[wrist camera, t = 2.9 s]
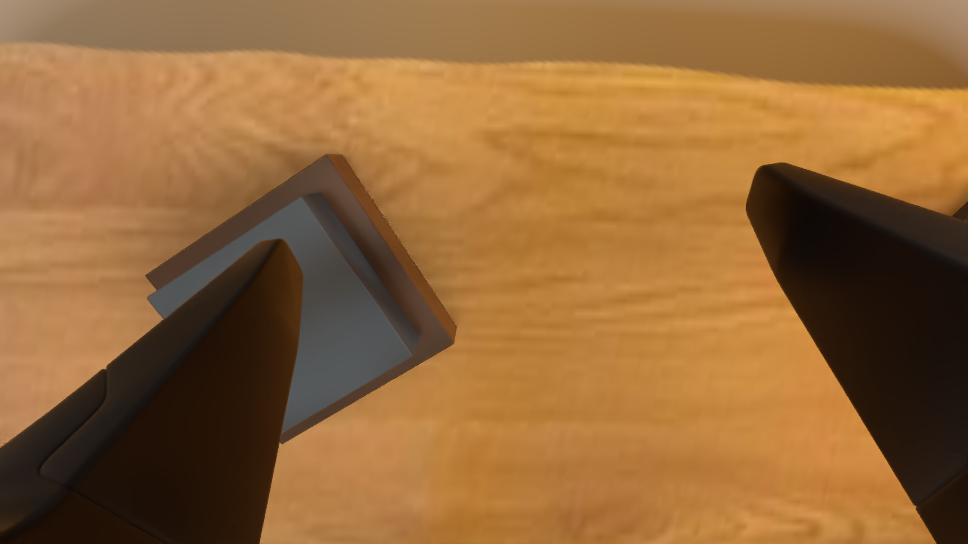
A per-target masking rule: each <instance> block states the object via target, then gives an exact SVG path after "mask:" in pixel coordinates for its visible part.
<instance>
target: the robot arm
mask: <svg viewBox="0 0 968 544" xmlns="http://www.w3.org/2000/svg"><path fill="white" fill-rule="evenodd" d="M746 212H747V216H748V218H749V220H750V223H751V225H752V227H753V229H754V231H755V234H756V236H757V238H758V240H759V243H760V245H761V247H762V249H763V251H764V254H765V256H766V258H767V260H768V263H769V265H770V267H771V269H772V271H773V273H774V275H775V277H776V279H777V281H778V283H779V284H780V286H781V288H782V290H783V291H784V293H785V295H786V296H787V298H788V299H789V301H790V303H791V304H792V306H793V308H794V309H795V311H796V313H797V314H798V316H799V318H800V319H801V321H802V322H803V324H804V326H805V327H806V329H807V331H808V332H809V334H810V336H811V337H812V339H813V341H814V342H815V344H816V345H817V347H818V349H819V350H820V352H821V354H822V355H823V357H824V359H825V360H826V362H827V364H828V365H829V367H830V368H831V370H832V372H833V373H834V375H835V377H836V378H837V380H838V382H839V383H840V385H841V386H842V388H843V390H844V391H845V393H846V395H847V396H848V398H849V400H850V401H851V403H852V405H853V406H854V408H855V409H856V411H857V413H858V414H859V416H860V418H861V419H862V421H863V423H864V424H865V426H866V428H867V429H868V431H869V432H870V434H871V436H872V437H873V439H874V441H875V442H876V444H877V446H878V447H879V449H880V451H881V452H882V454H883V455H884V457H885V459H886V460H887V462H888V464H889V465H890V467H891V469H892V470H893V472H894V474H895V475H896V477H897V478H898V480H899V482H900V483H901V485H902V487H903V488H904V490H905V492H906V493H907V495H908V496H909V498H910V500H911V501H912V503H913V504H914V505H915V506H917V507H916V510H917V512H918V514H919V515H920V517H921V519H922V520H923V522H924V523H925V525H926V527H927V528H928V530H929V532H930V533H931V535H932V537H933V538H934V540H935V541H936V543H937V544H968V222H966V221H963V220H959V219H956V218H953V217H950V216H947V215H944V214H941V213H938V212H935V211H932V210H929V209H926V208H923V207H920V206H917V205H913V204H910V203H907V202H904V201H901V200H898V199H895V198H892V197H889V196H886V195H883V194H880V193H877V192H874V191H871V190H867V189H864V188H861V187H858V186H855V185H852V184H849V183H846V182H843V181H840V180H837V179H834V178H831V177H828V176H825V175H821V174H818V173H815V172H812V171H809V170H806V169H803V168H800V167H797V166H794V165H791V164H788V163H774V164H768V165H762V166H761V167H759V168H758V169H757V171H756V173H755V175H754V179H753V182H752V185H751V188H750V192H749V195H748V198H747V202H746ZM302 294H303V273H302V270H301V267H300V266H299V264H298V262H297V260H296V258H295V256H294V254H293V252H292V251H291V249H290V247H289V245H288V243H287V242H286V241H285V240H284V239H282V238H275V239H268V240H262V241H260V242H259V243H257V244H256V245H255V246H254V247H252V248H251V249H250V250H249V251H247V252H246V253H245V254H244V255H243V256H241V257H240V258H239V259H238V260H236V261H235V262H234V263H233V264H231V265H230V266H229V267H228V268H226V269H225V270H224V271H223V272H222V273H220V274H219V275H218V276H217V277H215V278H214V279H213V280H212V281H210V282H209V283H208V284H207V285H206V286H204V287H203V288H202V289H201V290H199V291H198V292H197V293H196V294H194V295H193V296H192V297H191V298H190V299H188V300H187V301H186V302H185V303H183V304H182V305H181V306H180V307H178V308H177V309H176V310H175V311H174V312H172V313H171V314H170V315H169V316H167V317H166V318H165V319H164V320H162V321H161V322H160V323H159V324H157V325H156V326H155V327H154V328H153V329H151V330H150V331H149V332H148V333H146V334H145V335H144V336H143V337H141V338H140V339H139V340H138V341H137V342H135V343H134V344H133V345H132V346H130V347H129V348H128V349H127V350H125V351H124V352H123V353H122V354H121V355H119V356H118V357H117V358H116V359H114V360H113V361H112V362H111V363H109V364H108V365H107V367H106V369H102V370H101V371H99V372H98V373H97V374H96V375H94V376H93V377H92V378H91V379H90V380H88V381H87V382H86V383H85V384H83V385H82V386H81V387H80V388H78V389H77V390H76V391H75V392H73V393H72V394H71V395H70V396H68V397H67V398H66V399H64V400H63V401H62V402H61V403H59V404H58V405H57V406H56V407H54V408H53V409H52V410H50V411H49V412H48V413H46V414H45V415H44V416H42V417H41V418H40V419H38V420H37V421H36V422H34V423H33V424H32V425H30V426H29V427H28V428H26V429H25V430H24V431H22V432H21V433H20V434H18V435H17V436H16V437H14V438H13V439H12V440H10V441H9V442H7V443H6V444H5V445H3V446H2V447H1V448H0V544H259V543H260V538H261V533H262V528H263V523H264V518H265V513H266V508H267V503H268V498H269V493H270V488H271V483H272V478H273V473H274V468H275V463H276V458H277V453H278V448H279V443H280V438H281V433H282V428H283V423H284V418H285V413H286V408H287V403H288V398H289V393H290V388H291V382H292V377H293V372H294V367H295V362H296V357H297V352H298V345H299V336H300V322H301V308H302Z"/></svg>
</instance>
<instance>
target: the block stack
mask: <svg viewBox="0 0 968 544" xmlns="http://www.w3.org/2000/svg"><path fill="white" fill-rule="evenodd" d="M275 238H282V239H284V240H285V241H286V242H287V243H288V245H289V247H290V249H291V251H292V252H293V254H294V256H295V258H296V260H297V262H298V264H299V266H300V267H301V270H302V273H303V294H302V308H301V322H300V336H299V345H298V352H297V357H296V362H295V367H294V372H293V377H292V382H291V388H290V393H289V398H288V403H287V408H286V413H285V418H284V423H283V428H282V433H281V438H280V443H281V444H283V443H285V442H287V441H289V440H290V439H292V438H294V437H295V436H297V435H299V434H301V433H302V432H304V431H306V430H307V429H309V428H311V427H312V426H314V425H316V424H318V423H319V422H321V421H323V420H324V419H326V418H328V417H330V416H331V415H333V414H335V413H336V412H338V411H340V410H342V409H343V408H345V407H347V406H348V405H350V404H352V403H354V402H355V401H357V400H359V399H360V398H362V397H364V396H366V395H367V394H369V393H371V392H372V391H374V390H376V389H377V388H379V387H381V386H383V385H384V384H386V383H388V382H389V381H391V380H393V379H395V378H396V377H398V376H400V375H401V374H403V373H405V372H407V371H408V370H410V369H412V368H413V367H415V366H417V365H419V364H420V363H422V362H424V361H425V360H427V359H429V358H431V357H432V356H434V355H436V354H437V353H439V352H441V351H442V350H444V349H446V348H448V347H449V346H451V345H453V344H454V341H455V335H456V328H457V326H456V325H455V323H454V322H453V320H452V319H451V317H450V316H449V314H448V313H447V311H446V310H445V308H444V307H443V305H442V304H441V302H440V301H439V299H438V298H437V296H436V295H435V293H434V292H433V290H432V289H431V287H430V286H429V284H428V283H427V281H426V280H425V278H424V277H423V275H422V274H421V272H420V271H419V269H418V268H417V266H416V265H415V263H414V262H413V260H412V259H411V257H410V256H409V254H408V253H407V251H406V250H405V248H404V247H403V245H402V244H401V242H400V241H399V239H398V238H397V236H396V235H395V233H394V232H393V230H392V229H391V227H390V226H389V224H388V223H387V221H386V220H385V218H384V217H383V215H382V214H381V212H380V211H379V209H378V208H377V206H376V205H375V203H374V202H373V200H372V199H371V197H370V196H369V194H368V193H367V191H366V190H365V188H364V187H363V185H362V184H361V182H360V181H359V179H358V178H357V176H356V175H355V173H354V172H353V170H352V169H351V167H350V166H349V164H348V163H347V161H346V160H345V158H344V157H343V155H330V154H326V155H324V156H323V157H321V158H320V159H318V160H317V161H315V162H314V163H312V164H311V165H309V166H308V167H306V168H305V169H303V170H302V171H300V172H299V173H297V174H296V175H294V176H293V177H291V178H290V179H288V180H287V181H285V182H284V183H282V184H281V185H279V186H278V187H276V188H275V189H274V190H272V191H271V192H269V193H268V194H266V195H265V196H263V197H262V198H260V199H259V200H257V201H256V202H254V203H253V204H251V205H250V206H248V207H247V208H245V209H244V210H242V211H241V212H239V213H238V214H236V215H235V216H233V217H232V218H230V219H229V220H227V221H226V222H224V223H223V224H221V225H220V226H218V227H217V228H215V229H214V230H212V231H211V232H209V233H208V234H206V235H205V236H203V237H202V238H200V239H199V240H197V241H196V242H194V243H193V244H191V245H190V246H188V247H187V248H185V249H184V250H182V251H181V252H179V253H178V254H176V255H175V256H173V257H172V258H170V259H169V260H167V261H166V262H164V263H163V264H161V265H160V266H158V267H157V268H155V269H154V270H152V271H151V272H149V273H148V274H146V275H145V276H146V277H147V279H148V280H149V281H150V282H151V284H152V285H153V286H154V287H155V289H156V290H157V291H156V292H154V293H153V294H151V295H150V296H148V297H147V300H148V301H149V302H150V303H151V304H152V306H153V307H154V308H155V309H156V311H157V312H158V313H159V314H160V315H161V317H162V318H163V319H165V318H166V317H167V316H169V315H170V314H171V313H172V312H174V311H175V310H176V309H177V308H178V307H180V306H181V305H182V304H183V303H185V302H186V301H187V300H188V299H190V298H191V297H192V296H193V295H194V294H196V293H197V292H198V291H199V290H201V289H202V288H203V287H204V286H206V285H207V284H208V283H209V282H210V281H212V280H213V279H214V278H215V277H217V276H218V275H219V274H220V273H222V272H223V271H224V270H225V269H226V268H228V267H229V266H230V265H231V264H233V263H234V262H235V261H236V260H238V259H239V258H240V257H241V256H243V255H244V254H245V253H246V252H247V251H249V250H250V249H251V248H252V247H254V246H255V245H256V244H257V243H259V242H260V241H262V240H268V239H275Z"/></svg>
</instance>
